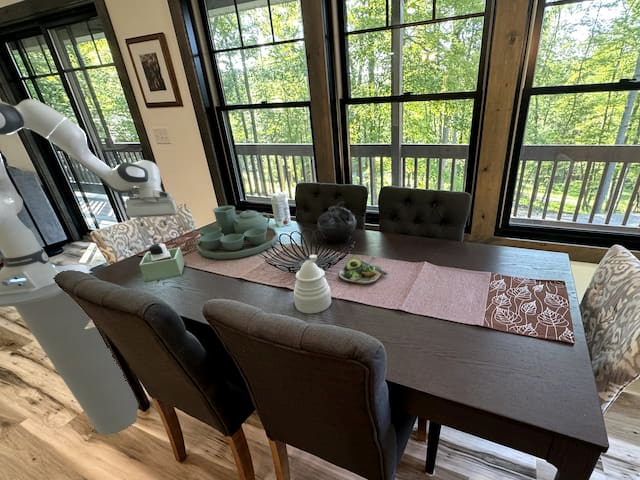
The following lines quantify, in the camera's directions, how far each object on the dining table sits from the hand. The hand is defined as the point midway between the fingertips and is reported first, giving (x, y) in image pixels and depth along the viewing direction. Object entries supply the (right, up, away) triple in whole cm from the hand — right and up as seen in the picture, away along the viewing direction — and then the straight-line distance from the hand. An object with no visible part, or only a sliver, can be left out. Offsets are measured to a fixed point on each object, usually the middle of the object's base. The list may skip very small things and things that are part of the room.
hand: (154, 225), depth 144 cm
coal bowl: (+84, -5, +21) cm, 86 cm away
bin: (+8, -21, -5) cm, 23 cm away
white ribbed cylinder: (+48, +7, +46) cm, 67 cm away
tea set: (+32, -7, +21) cm, 39 cm away
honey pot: (+78, -33, -32) cm, 91 cm away
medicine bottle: (+8, -21, -5) cm, 23 cm away
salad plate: (+95, -23, -14) cm, 99 cm away
